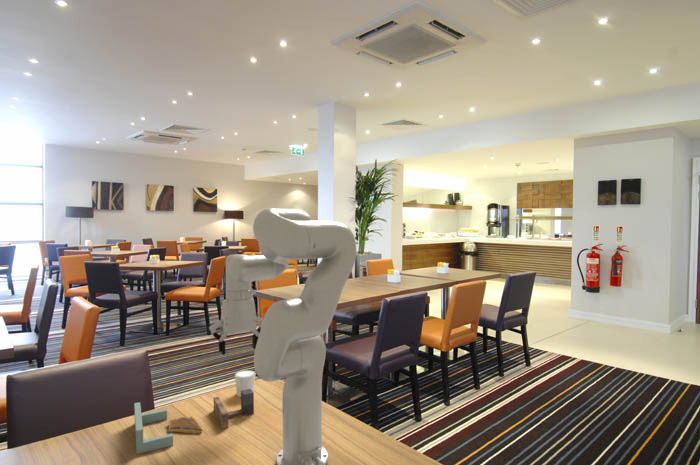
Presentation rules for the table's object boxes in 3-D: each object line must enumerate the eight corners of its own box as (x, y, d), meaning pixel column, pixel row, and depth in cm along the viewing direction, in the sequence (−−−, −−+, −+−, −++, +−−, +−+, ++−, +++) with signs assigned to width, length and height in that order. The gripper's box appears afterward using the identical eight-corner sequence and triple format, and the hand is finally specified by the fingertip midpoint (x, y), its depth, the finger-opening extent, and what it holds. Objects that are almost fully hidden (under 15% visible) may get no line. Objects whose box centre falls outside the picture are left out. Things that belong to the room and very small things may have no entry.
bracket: (173, 445, 108) (172, 422, 108) (136, 454, 104) (136, 430, 104) (166, 416, 124) (166, 397, 123) (134, 423, 119) (134, 403, 119)
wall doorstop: (258, 420, 121) (258, 398, 121) (222, 428, 116) (222, 406, 116) (246, 403, 133) (246, 383, 133) (213, 410, 128) (213, 389, 128)
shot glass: (230, 396, 138) (230, 376, 138) (241, 388, 144) (241, 369, 144) (248, 399, 136) (248, 378, 136) (259, 391, 142) (259, 371, 142)
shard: (202, 435, 114) (202, 428, 114) (173, 444, 109) (173, 437, 109) (192, 420, 123) (191, 414, 123) (164, 427, 118) (164, 421, 118)
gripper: (263, 291, 132) (263, 343, 133) (206, 295, 124) (207, 352, 124) (270, 294, 125) (270, 350, 126) (211, 299, 117) (211, 359, 118)
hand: (239, 351), depth 125 cm, fingers open, 9 cm apart
